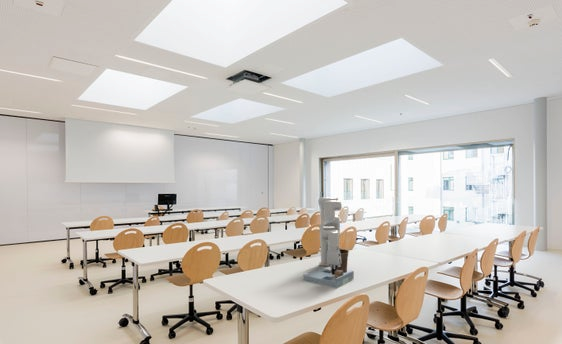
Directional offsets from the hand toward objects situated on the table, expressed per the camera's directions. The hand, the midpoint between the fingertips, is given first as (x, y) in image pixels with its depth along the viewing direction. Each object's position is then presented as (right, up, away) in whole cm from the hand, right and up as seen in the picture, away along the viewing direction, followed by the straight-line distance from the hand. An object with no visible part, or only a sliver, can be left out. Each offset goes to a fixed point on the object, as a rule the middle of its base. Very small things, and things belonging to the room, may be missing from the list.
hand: (333, 274), depth 222 cm
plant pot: (+8, -5, +22) cm, 24 cm away
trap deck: (-3, -5, +3) cm, 6 cm away
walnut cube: (+3, -1, -3) cm, 5 cm away
